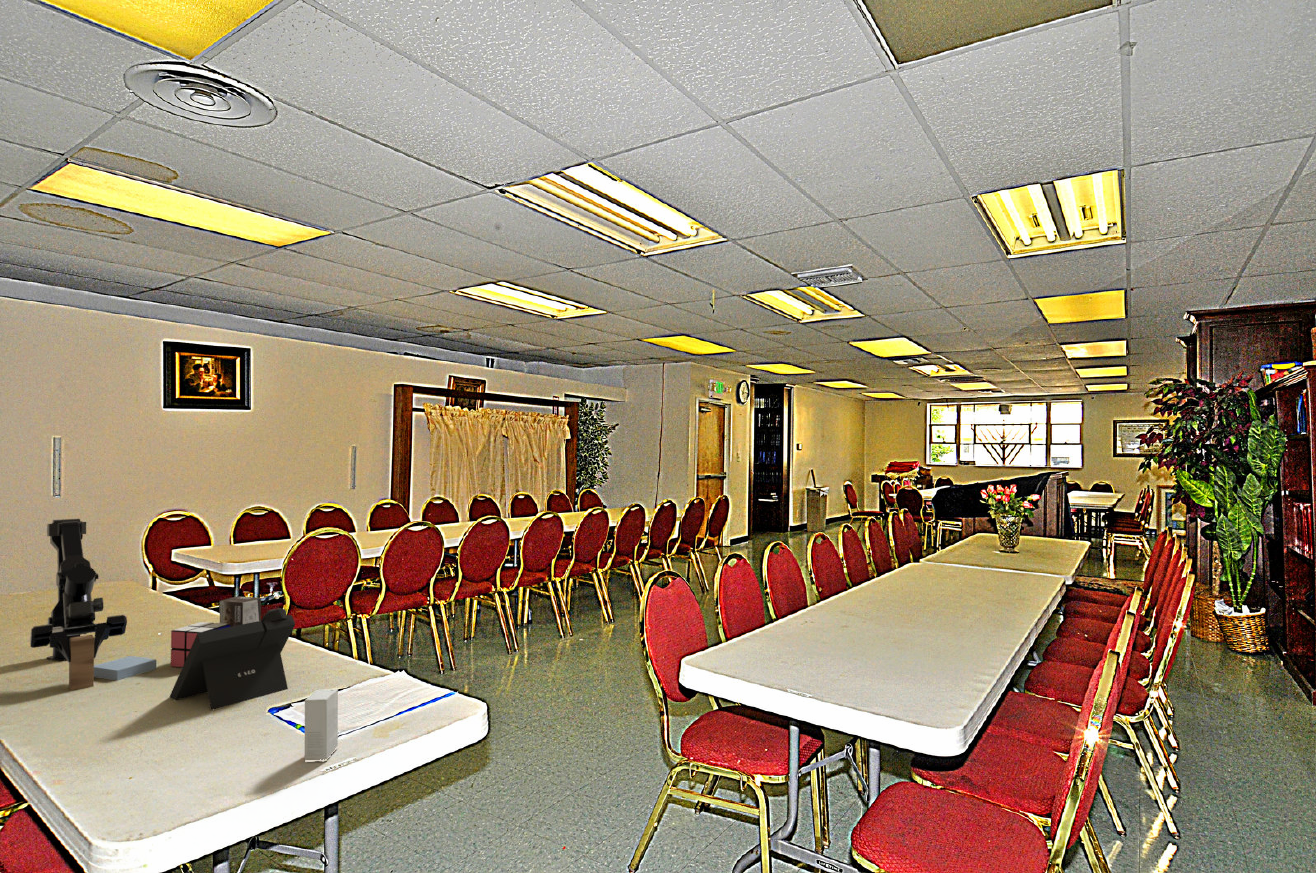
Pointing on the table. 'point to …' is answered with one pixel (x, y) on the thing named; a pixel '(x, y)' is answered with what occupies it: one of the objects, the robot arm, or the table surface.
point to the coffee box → (240, 610)
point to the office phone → (237, 661)
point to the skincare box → (321, 724)
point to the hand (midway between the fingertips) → (82, 659)
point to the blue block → (124, 667)
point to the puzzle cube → (188, 640)
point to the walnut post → (81, 662)
